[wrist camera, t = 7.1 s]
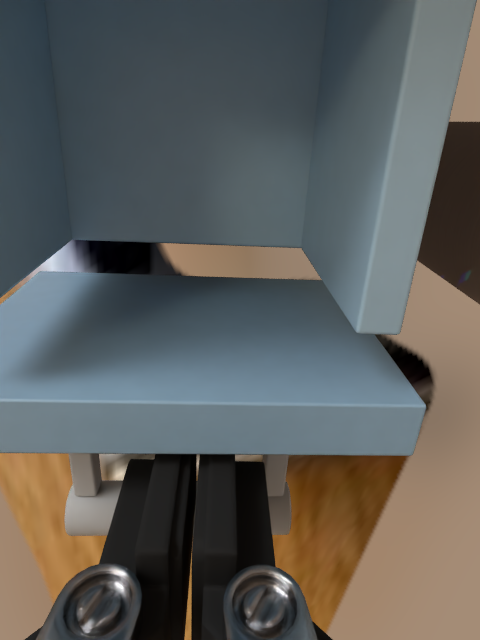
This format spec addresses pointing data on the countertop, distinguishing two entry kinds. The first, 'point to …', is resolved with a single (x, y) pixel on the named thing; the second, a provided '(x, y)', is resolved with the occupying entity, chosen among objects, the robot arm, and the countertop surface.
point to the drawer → (216, 226)
